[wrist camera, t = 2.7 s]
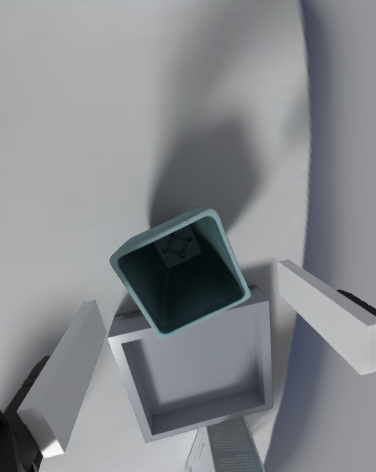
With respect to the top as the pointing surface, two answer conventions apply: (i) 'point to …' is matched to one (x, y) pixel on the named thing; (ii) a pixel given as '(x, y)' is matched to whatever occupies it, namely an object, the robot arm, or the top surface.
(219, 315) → the tray
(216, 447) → the hard drive box
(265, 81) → the top surface
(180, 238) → the flower pot
